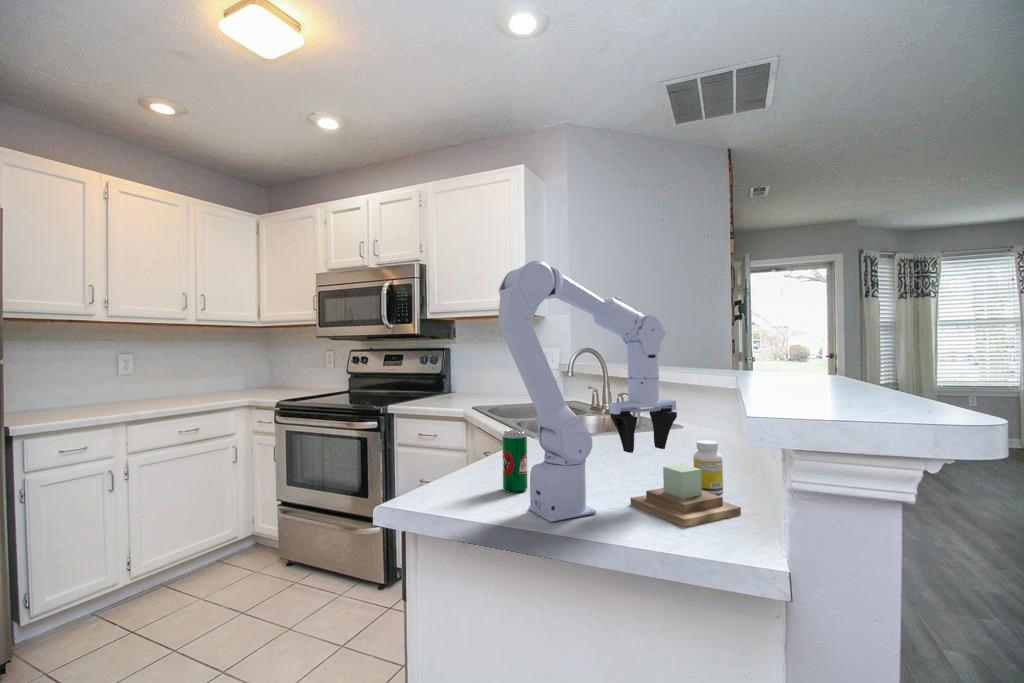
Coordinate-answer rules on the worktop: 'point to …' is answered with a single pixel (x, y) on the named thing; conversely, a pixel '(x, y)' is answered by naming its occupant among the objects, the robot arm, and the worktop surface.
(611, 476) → the worktop surface
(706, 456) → the supplement bottle
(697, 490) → the sage block
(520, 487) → the soda can
